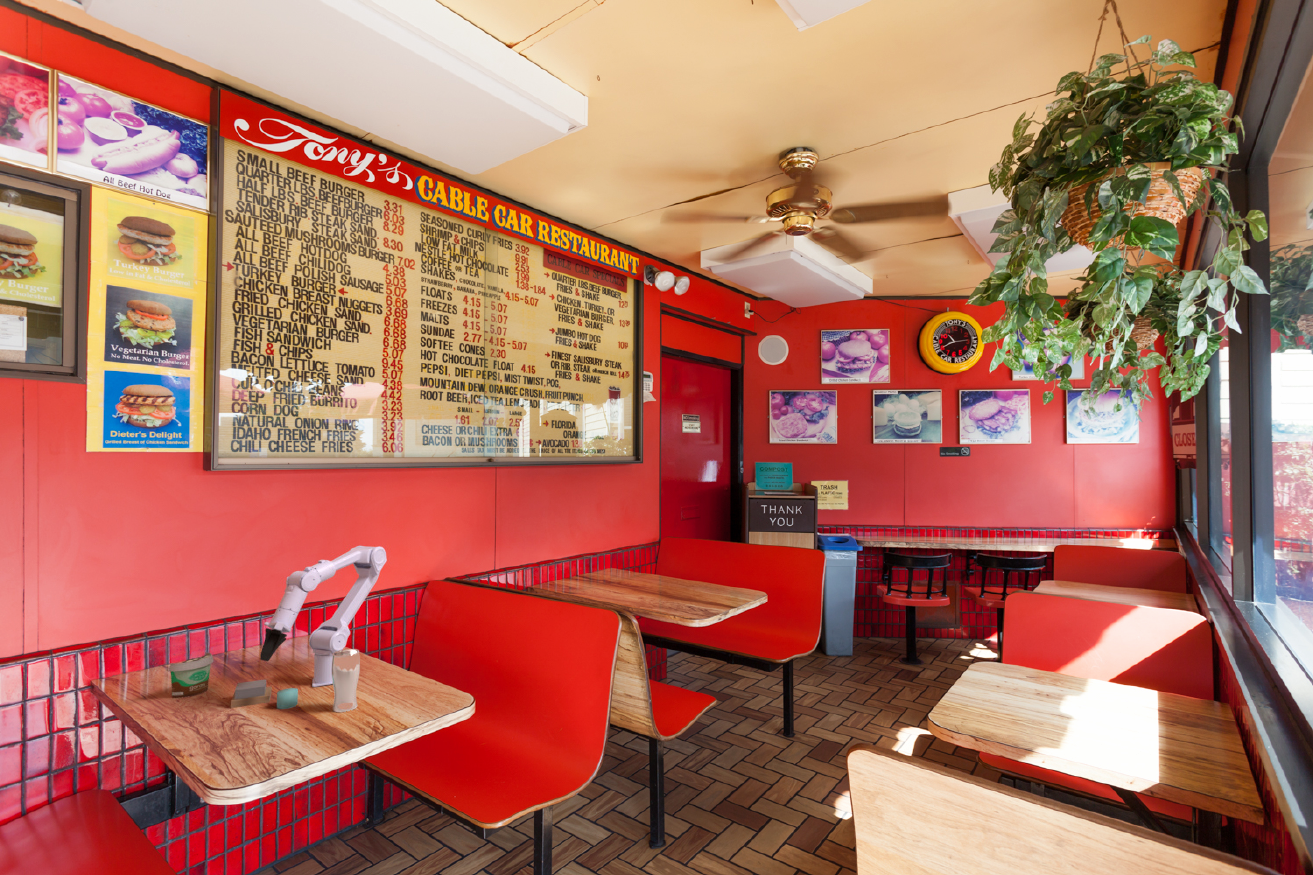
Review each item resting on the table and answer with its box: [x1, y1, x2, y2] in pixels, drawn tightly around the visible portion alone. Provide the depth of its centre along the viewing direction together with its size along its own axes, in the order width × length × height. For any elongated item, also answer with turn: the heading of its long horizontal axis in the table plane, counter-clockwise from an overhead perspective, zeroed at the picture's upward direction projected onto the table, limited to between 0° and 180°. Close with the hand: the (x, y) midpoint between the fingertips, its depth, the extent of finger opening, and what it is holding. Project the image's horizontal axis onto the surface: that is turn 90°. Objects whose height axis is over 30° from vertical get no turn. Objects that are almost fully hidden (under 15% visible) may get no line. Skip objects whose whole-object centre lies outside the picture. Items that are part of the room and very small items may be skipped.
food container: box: [168, 651, 215, 699], centre depth 185 cm, size 12×6×10 cm, turn 168°
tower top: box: [234, 678, 267, 700], centre depth 179 cm, size 7×7×2 cm
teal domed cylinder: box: [276, 687, 299, 710], centre depth 174 cm, size 5×5×4 cm
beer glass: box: [332, 648, 361, 713], centre depth 172 cm, size 7×7×15 cm
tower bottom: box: [230, 685, 273, 709], centre depth 179 cm, size 9×9×2 cm
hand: (264, 659), depth 175 cm, fingers open, 7 cm apart
